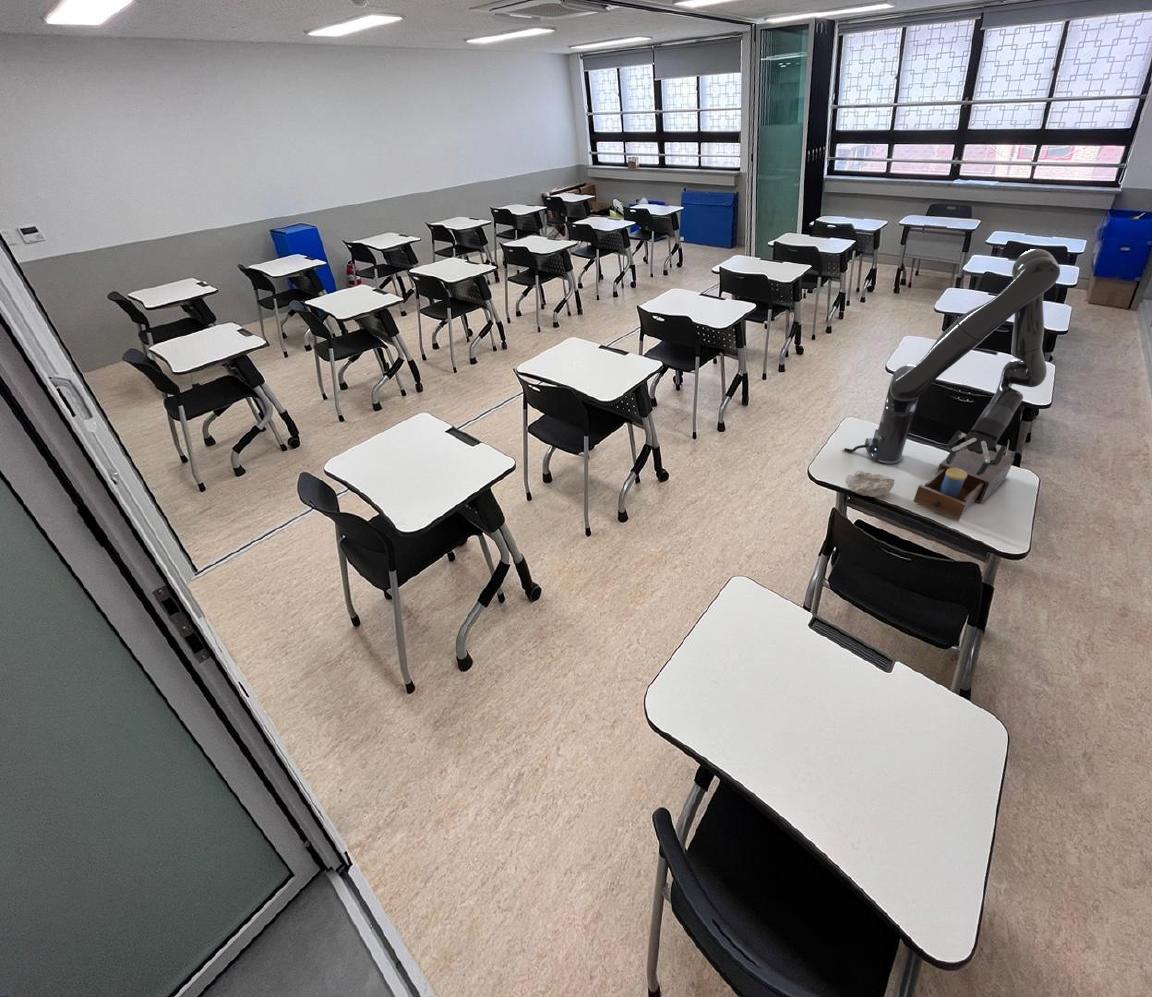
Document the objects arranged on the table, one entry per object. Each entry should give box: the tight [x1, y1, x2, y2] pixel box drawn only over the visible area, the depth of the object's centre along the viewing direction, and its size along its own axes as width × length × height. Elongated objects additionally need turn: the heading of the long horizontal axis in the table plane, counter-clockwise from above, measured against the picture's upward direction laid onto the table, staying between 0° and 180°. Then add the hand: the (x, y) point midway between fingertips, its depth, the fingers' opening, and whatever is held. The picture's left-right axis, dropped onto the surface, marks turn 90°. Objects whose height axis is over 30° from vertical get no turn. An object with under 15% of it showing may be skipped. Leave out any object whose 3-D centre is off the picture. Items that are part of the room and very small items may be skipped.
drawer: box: [913, 468, 986, 522], centre depth 177 cm, size 18×13×6 cm
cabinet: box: [935, 444, 1015, 504], centre depth 184 cm, size 18×15×8 cm
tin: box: [939, 468, 967, 499], centre depth 175 cm, size 6×6×10 cm
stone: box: [844, 469, 896, 498], centre depth 185 cm, size 8×12×10 cm
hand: (962, 469), depth 174 cm, fingers open, 8 cm apart
